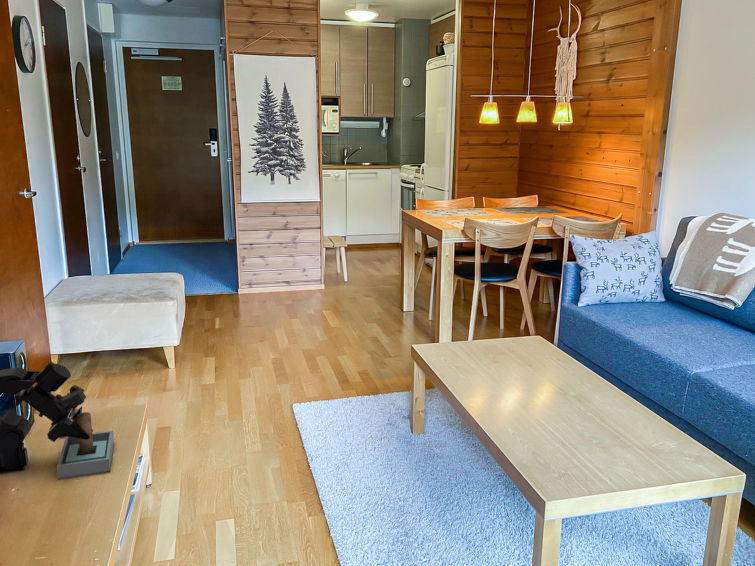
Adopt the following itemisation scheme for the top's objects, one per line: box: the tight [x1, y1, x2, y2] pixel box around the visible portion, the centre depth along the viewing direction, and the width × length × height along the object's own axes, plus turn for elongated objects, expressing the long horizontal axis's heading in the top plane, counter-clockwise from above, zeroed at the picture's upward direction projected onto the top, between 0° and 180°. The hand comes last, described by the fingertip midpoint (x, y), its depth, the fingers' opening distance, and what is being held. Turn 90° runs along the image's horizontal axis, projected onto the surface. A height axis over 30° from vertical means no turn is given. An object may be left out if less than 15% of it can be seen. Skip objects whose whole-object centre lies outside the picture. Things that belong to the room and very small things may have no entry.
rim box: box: [56, 430, 115, 480], centre depth 178 cm, size 13×18×4 cm
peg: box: [77, 412, 94, 455], centre depth 177 cm, size 4×4×13 cm
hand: (90, 435), depth 177 cm, fingers closed on peg, 3 cm apart
